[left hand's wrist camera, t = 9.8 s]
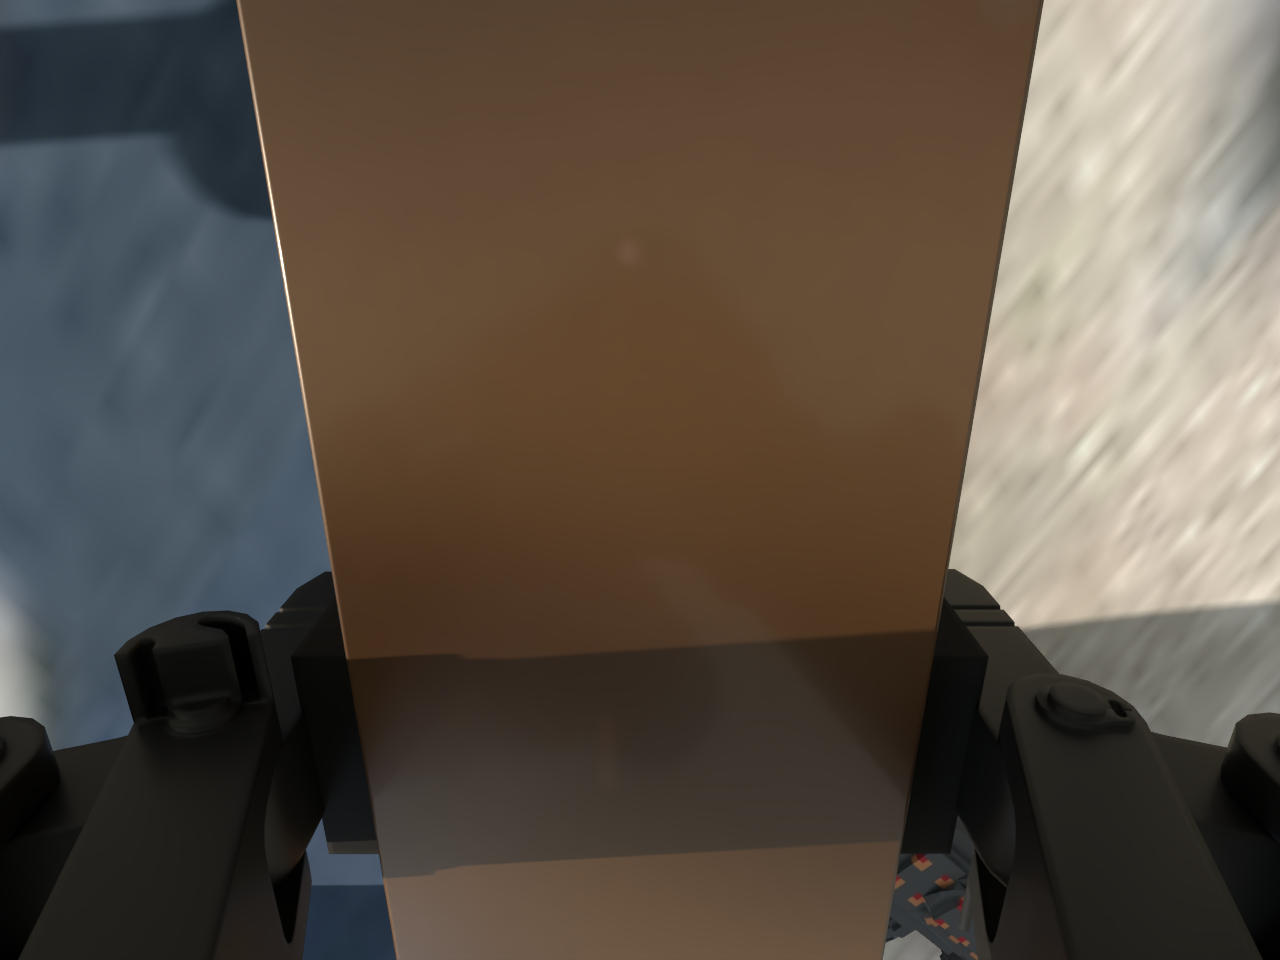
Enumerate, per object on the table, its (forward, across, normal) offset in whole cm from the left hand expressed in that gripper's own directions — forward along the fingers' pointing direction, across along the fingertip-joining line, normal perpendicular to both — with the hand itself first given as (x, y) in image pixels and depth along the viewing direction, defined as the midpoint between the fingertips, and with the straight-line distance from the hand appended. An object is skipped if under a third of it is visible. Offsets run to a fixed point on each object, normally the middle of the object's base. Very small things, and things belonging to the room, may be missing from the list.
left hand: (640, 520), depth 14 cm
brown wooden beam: (0, 0, -23) cm, 23 cm away
